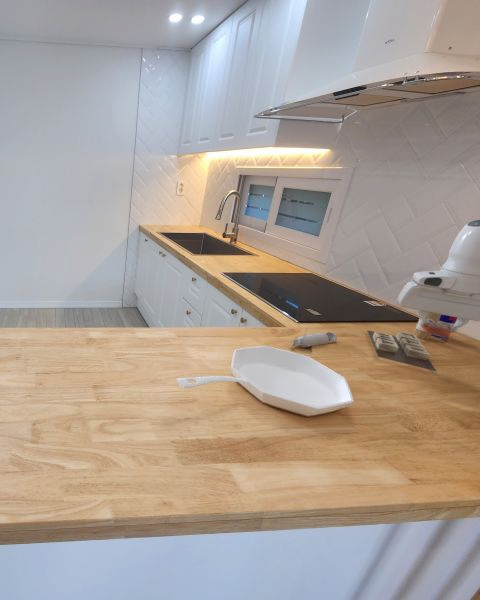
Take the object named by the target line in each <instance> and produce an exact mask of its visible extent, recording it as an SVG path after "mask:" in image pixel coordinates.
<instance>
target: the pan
mask: <svg viewBox="0 0 480 600" xmlns="http://www.w3.org/2000/svg"><path fill="white" fill-rule="evenodd" d="M233 350H234V351H233V353H232V359H231V363H230V373H231V374H232V375H233V376H229V375H210V376H209V375H208V376H194V377H180V378H179V377H177V378H176V382H177V384H178V385H179V386H180V387H181V388H183V389H190V388H195V387H200V386H203V385H208V384H213V383H221V382H233V383H238V385H240V386H241V387H242V388H244V389H245V390H246V391H247V392H248V393H249V394H250V395H252V396H253V397H254V398H255V399H257V400H258V401H259V402H261V403H262V404H264V405H268V406H270V407H273V408H276V409H280V410H282V411H286V412H289V413H292V414H296V415H299V416H303V417H306V418H309V417H310V418H311V417H317V416H321V415H327V414H330V413H334V412H337V411H338V410H342V409H344V408H348V407H351V406H352V405H353V404H354V402H355V401H354V397H353V393H352V391H351V388H350V385H349V383H348V381H347V379H346V378H345V377H344V376H343V375H341V374H339V373H338V372H336V371H334V370H333V369H331V368H329V367H328V366H326V365H324V364H322V363H321V362H319V361H317V360H316V359H314V358H311V357H310V356H308V355H305V354H301V353H298V352H293V351H289V350H286V349H282V348H277V347H272V346H268V345H258V346H257V345H256V346H248V347H241V348H234V349H233ZM190 381H192V382H195V383H192V382H190Z"/></svg>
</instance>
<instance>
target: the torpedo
mask: <svg viewBox="0 0 480 600" xmlns="http://www.w3.org/2000/svg"><path fill="white" fill-rule="evenodd" d="M307 330H308V328H307V327H306V330H305V332H304V335H300V336H299V337H298V338H295V339H294V340H292V341H290V342H291V344H292V345H291V347H300V348H310V347H311V348H312V347H314V346H315V347H317V346H322V345H327V344H332V343H336V342H337V340H338V335H337V334H336V333H334V332H332V331H327V332H326V333H325V332H318V333H312V334H307V335H306V333H307Z"/></svg>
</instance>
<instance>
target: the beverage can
mask: <svg viewBox="0 0 480 600" xmlns="http://www.w3.org/2000/svg"><path fill="white" fill-rule="evenodd" d="M457 320H458V317H452V316H447V315H442V314H441V316H440V319H439V321H438V323H437V324H442V325H446V326H447V327H448V325H449V324H451V325H453V324H455V323H457ZM430 337H432V338H436V339H441V340H447V339H448V338H449V337H444V336H439V335H434V334H431V336H430Z"/></svg>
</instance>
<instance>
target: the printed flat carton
mask: <svg viewBox="0 0 480 600" xmlns="http://www.w3.org/2000/svg"><path fill="white" fill-rule="evenodd" d="M412 334H413V333H407V332H401V331H397V333H396V335H395V337H396V338H397V340H398V341H399V342H400V345H401V346H402V348H403V349H404V351H405V353H406V355H407V356H410V357H414V358H418V359H422V360H426V361H427V359H429V358H430V353H429V352H428V350H427V349H426V348H425V346H424V345H423V344H422V342H421V341H420V338H418V337H416V335H412Z"/></svg>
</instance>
